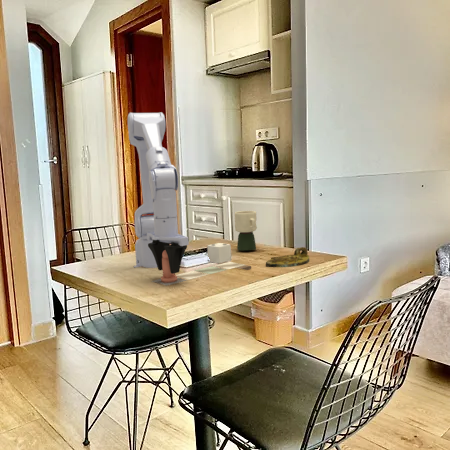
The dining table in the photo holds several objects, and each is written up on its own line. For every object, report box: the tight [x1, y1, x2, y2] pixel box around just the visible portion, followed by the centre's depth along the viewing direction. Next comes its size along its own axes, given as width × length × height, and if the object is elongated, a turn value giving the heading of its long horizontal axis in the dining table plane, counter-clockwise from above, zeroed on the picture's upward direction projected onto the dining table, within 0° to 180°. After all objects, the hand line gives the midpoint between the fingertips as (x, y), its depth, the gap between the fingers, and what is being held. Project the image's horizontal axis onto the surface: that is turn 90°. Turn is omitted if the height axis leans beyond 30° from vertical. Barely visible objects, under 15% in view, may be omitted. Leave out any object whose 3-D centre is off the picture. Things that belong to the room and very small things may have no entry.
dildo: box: [160, 250, 178, 283], centre depth 119 cm, size 4×4×8 cm
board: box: [151, 261, 252, 287], centre depth 126 cm, size 10×28×1 cm, turn 134°
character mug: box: [234, 210, 258, 252], centre depth 157 cm, size 11×7×13 cm, turn 28°
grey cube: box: [206, 242, 232, 264], centre depth 144 cm, size 5×5×5 cm
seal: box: [265, 246, 310, 268], centre depth 138 cm, size 9×5×15 cm
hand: (168, 271), depth 119 cm, fingers open, 5 cm apart
